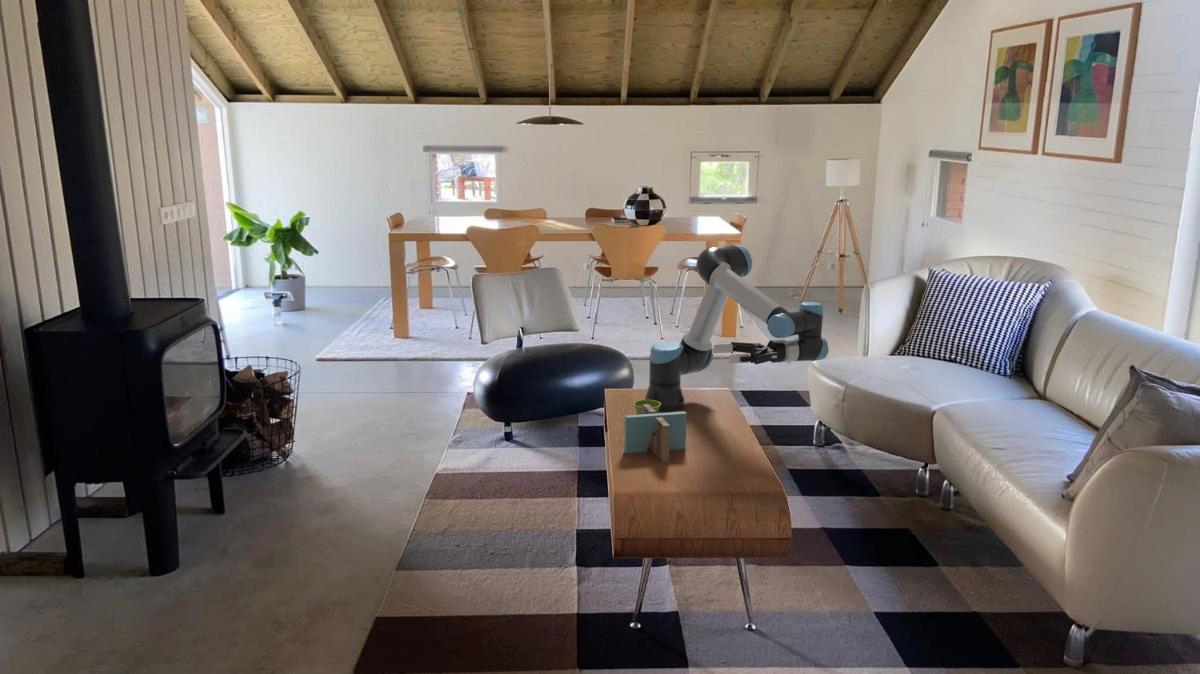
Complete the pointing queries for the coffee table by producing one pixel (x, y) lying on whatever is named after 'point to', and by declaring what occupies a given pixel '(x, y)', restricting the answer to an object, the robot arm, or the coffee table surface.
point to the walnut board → (658, 436)
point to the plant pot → (652, 403)
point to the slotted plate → (646, 423)
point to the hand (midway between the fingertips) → (721, 353)
